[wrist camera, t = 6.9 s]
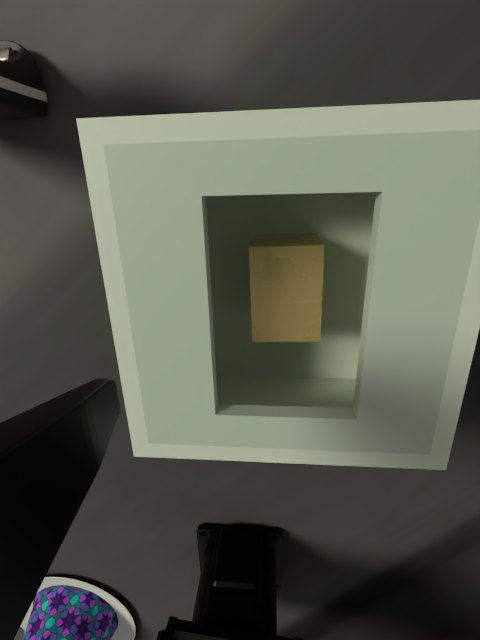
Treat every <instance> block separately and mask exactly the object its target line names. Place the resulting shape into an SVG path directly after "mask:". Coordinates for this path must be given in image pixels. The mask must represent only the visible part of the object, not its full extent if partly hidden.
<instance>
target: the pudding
mask: <svg viewBox="0 0 480 640" xmlns="http://www.w3.org/2000/svg"><path fill="white" fill-rule="evenodd" d="M55 585H69V586H75V587H79V588H83V589H86V590H88V591H86V590H78V591H76V590H74V589H73V588H71V587H69V586H56V587H54V589H53V590H52V591H47V590H43V591H41V590H42V589H44V588H46V587H50V586H55ZM39 591H41V592H39ZM89 591H91V592H89ZM38 592H39V593H38ZM38 592H37V593H38V595H37V597H36V600H35V603H34V606H33V602H32V604H31V606H30V608H29V610H28V612H27V614H26V616H25V618H24V620H23V622H22V624H21V627H22V629H23V630H24V631H25V633H24V635H23V638H22V640H134V638H135V635H136V627H135V623H134V620H133V618H132V616H131V614H130V613H129V611H128V610H127V609H126V608H125V606H124V605H123V604H121V603H120V602H119V601H118V600H117V599H116V598H114V597H113V596H112V595H110V594H109V593H107V592H105V591H103V590H102V589H100V588H98V587H96V586H93V585H91V584H88V583H86V582H82V581H79V580H75V579H69V578H64V577H45V578H44V580H43V582H42V584H41V586H40V588H39V590H38ZM92 592H93V593H92ZM94 593H95V594H97V595H98V596H100V597H101V598H103V599H104V600H106V601H107V602H108V603H109V604H110V605H111V606H112V607H111V606H110V605H108V604H105V603H102V602H101V601H100V599H99V597H98V596H97V595H95V594H94ZM114 610H115V612H116V614H117V617H118V627H117V623H116V622H115V621H114V620H113V618H114V616H115V615H116V614H115V612H114Z"/></svg>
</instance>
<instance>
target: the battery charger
mask: <svg viewBox="0 0 480 640" xmlns="http://www.w3.org/2000/svg"><path fill="white" fill-rule="evenodd" d="M47 102H48V101H47V96H46V93H45V92H44V91H43V86H42V80H41V76H40V74H39V71H38V68H37V65H36V63H35V61H34V59H33V58H32V56H31V54H30V53H29V52H28V51H27V50H26V49H25V48H24V47H22V46H21V45H19V44H17V43H15V42H12V41H4V40H0V119H22V118H40V117H45V116H46V114H47V106H46V103H47Z"/></svg>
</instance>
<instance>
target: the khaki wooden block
mask: <svg viewBox="0 0 480 640" xmlns="http://www.w3.org/2000/svg"><path fill="white" fill-rule="evenodd" d="M249 264H250V293H251V322H252V342H320V339H321V316H322V292H323V268H324V244H323V242H322V241H321V240H320V238H319V237H318V235H317V234H316V233H300V234H268V235H253V237H252V240H251V243H250V246H249Z"/></svg>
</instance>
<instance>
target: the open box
mask: <svg viewBox="0 0 480 640" xmlns="http://www.w3.org/2000/svg"><path fill="white" fill-rule="evenodd" d="M76 121H77V127H78V133H79V139H80V145H81V151H82V156H83V162H84V168H85V174H86V180H87V186H88V191H89V197H90V203H91V209H92V215H93V221H94V226H95V232H96V238H97V244H98V250H99V256H100V261H101V267H102V273H103V279H104V285H105V291H106V296H107V302H108V308H109V314H110V320H111V326H112V331H113V337H114V343H115V349H116V355H117V361H118V366H119V372H120V378H121V384H122V390H123V396H124V401H125V407H126V413H127V419H128V425H129V431H130V436H131V442H132V448H133V454H134V456H135V457H158V458H181V459H203V460H226V461H249V462H272V463H295V464H318V465H341V466H364V467H386V468H409V469H432V470H446V468H447V464H448V460H449V456H450V451H451V447H452V443H453V439H454V434H455V430H456V426H457V422H458V418H459V413H460V409H461V405H462V401H463V396H464V392H465V388H466V384H467V380H468V375H469V371H470V367H471V363H472V358H473V354H474V350H475V346H476V341H477V337H478V333H479V329H480V100H465V101H443V102H422V103H400V104H378V105H357V106H335V107H313V108H292V109H270V110H248V111H227V112H205V113H183V114H162V115H140V116H118V117H97V118H76ZM300 233H316V234H317V235H318V237H319V238H320V240H321V241H322V242H323V244H324V268H323V292H322V316H321V339H320V342H252V322H251V293H250V264H249V246H250V243H251V240H252V237H253V235H268V234H300Z"/></svg>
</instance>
